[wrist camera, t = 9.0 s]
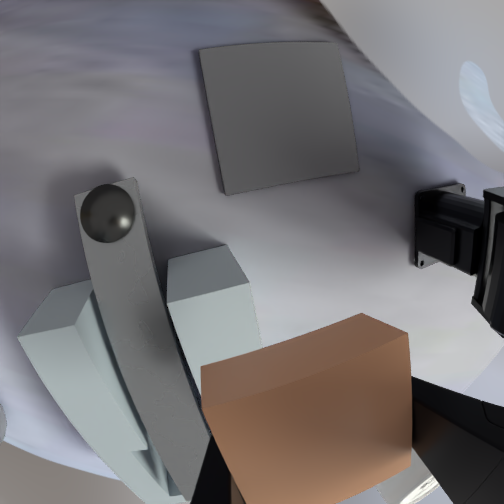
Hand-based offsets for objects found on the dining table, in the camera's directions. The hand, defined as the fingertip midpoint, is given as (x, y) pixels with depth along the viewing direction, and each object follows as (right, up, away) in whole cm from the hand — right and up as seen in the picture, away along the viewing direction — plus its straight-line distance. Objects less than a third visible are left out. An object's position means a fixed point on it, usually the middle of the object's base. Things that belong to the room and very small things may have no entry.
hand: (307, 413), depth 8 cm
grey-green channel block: (-7, -5, +13) cm, 15 cm away
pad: (0, +13, +9) cm, 16 cm away
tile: (0, 0, 0) cm, 0 cm away
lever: (-7, -2, +8) cm, 11 cm away
